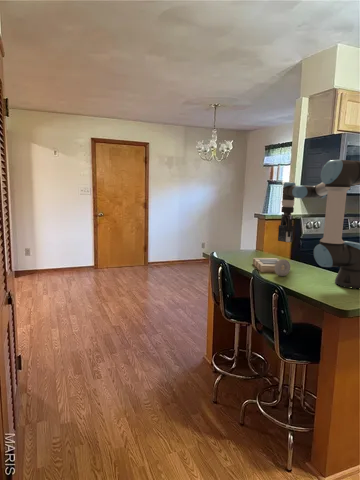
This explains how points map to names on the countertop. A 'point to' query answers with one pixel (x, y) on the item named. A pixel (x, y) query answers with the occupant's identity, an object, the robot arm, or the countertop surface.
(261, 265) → the stack base
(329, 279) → the countertop surface
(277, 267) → the grey wheel
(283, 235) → the box
